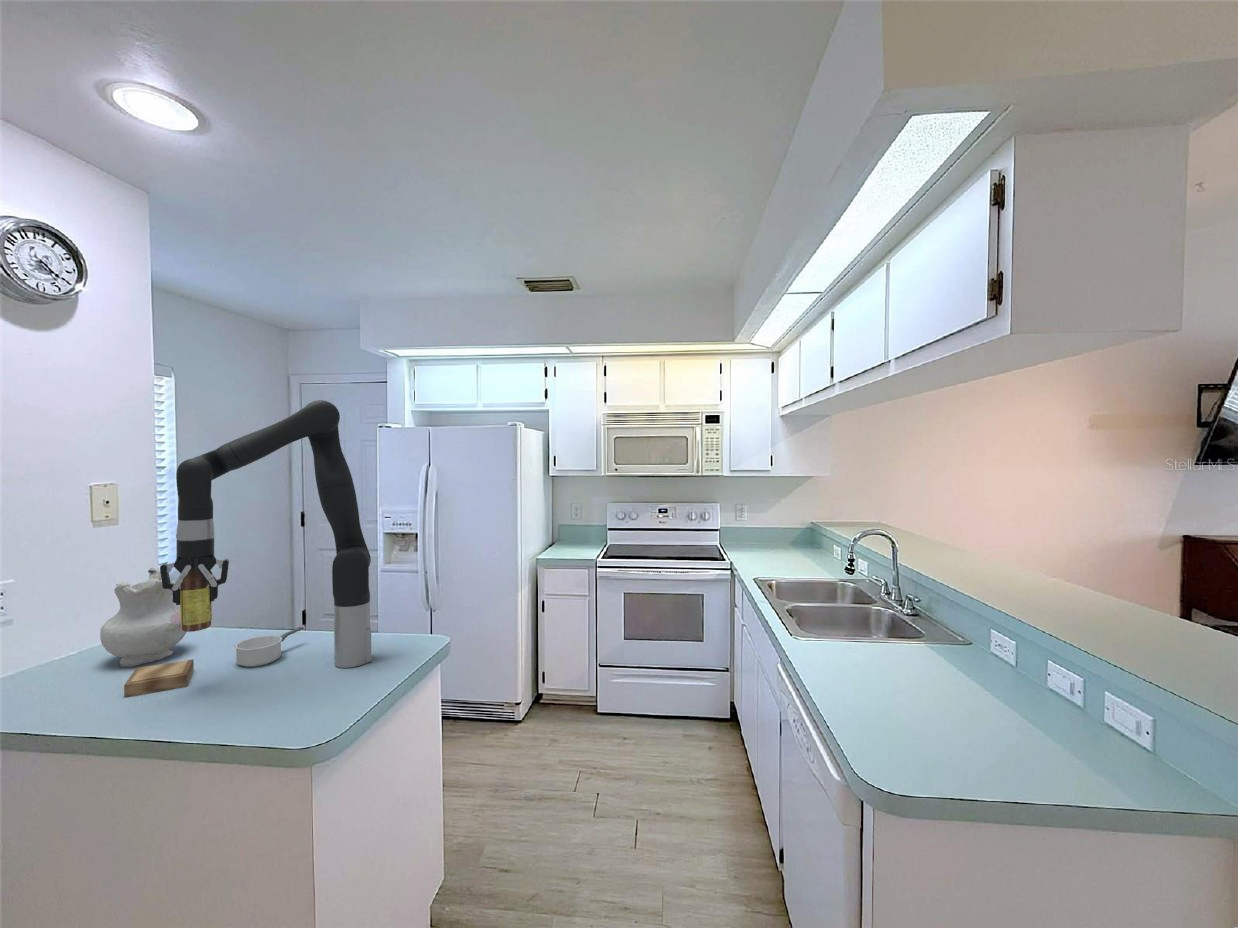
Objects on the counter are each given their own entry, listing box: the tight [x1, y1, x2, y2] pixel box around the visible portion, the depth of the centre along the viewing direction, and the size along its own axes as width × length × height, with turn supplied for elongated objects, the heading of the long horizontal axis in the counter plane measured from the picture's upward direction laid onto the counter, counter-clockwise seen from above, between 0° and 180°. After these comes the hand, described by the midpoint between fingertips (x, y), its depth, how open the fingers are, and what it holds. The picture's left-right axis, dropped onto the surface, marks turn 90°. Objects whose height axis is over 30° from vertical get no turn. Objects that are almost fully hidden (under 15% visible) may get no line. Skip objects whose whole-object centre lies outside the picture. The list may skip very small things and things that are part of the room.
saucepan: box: [234, 626, 304, 668], centre depth 159 cm, size 12×20×6 cm, turn 161°
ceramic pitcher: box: [99, 567, 187, 668], centre depth 157 cm, size 22×20×25 cm
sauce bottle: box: [179, 557, 213, 633], centre depth 136 cm, size 6×6×20 cm
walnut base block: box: [123, 658, 194, 698], centre depth 140 cm, size 12×12×3 cm
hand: (195, 602), depth 136 cm, fingers closed on sauce bottle, 6 cm apart
